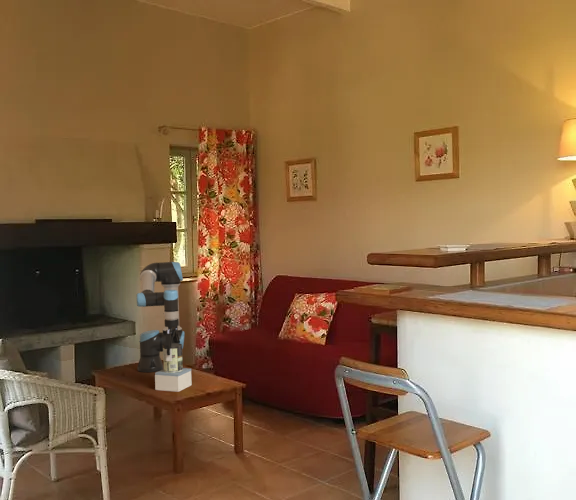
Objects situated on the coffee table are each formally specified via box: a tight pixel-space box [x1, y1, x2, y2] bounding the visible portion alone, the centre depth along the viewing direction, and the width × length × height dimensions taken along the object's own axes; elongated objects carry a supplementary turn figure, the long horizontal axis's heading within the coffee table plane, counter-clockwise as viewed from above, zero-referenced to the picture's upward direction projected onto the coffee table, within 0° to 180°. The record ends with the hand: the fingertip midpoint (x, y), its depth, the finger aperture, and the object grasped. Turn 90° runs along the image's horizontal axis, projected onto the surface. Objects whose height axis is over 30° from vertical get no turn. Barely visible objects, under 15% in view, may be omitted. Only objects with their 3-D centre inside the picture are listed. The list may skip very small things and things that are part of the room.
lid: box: [154, 367, 192, 376], centre depth 349 cm, size 14×14×1 cm
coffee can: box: [162, 343, 184, 373], centre depth 348 cm, size 10×10×14 cm
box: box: [154, 370, 192, 392], centre depth 349 cm, size 14×14×8 cm
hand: (172, 358), depth 349 cm, fingers open, 13 cm apart
